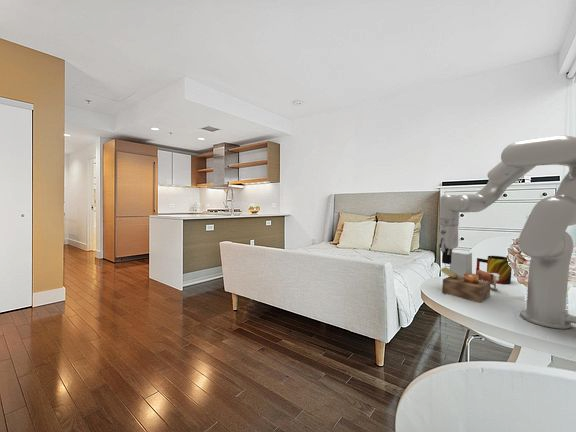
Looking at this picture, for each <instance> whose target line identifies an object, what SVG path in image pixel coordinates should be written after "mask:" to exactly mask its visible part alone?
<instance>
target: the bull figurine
mask: <svg viewBox="0 0 576 432" xmlns="http://www.w3.org/2000/svg"><path fill="white" fill-rule="evenodd" d="M475 274H477V275H479V280H482V281H487V282H491V284H490V286H493V289H494V290H495V291H498V289H497V283H496V282H497V281H499V277H502V275H499V274H496V273H488V272H487V271H484V270H482V269H479V270H477V271H476V270H475Z"/></svg>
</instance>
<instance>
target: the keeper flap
mask: <svg viewBox="0 0 576 432" xmlns="http://www.w3.org/2000/svg"><path fill="white" fill-rule="evenodd" d="M440 271H441V272H442V273H443V274H445V275H446V276H447V277H451V278H452V279H454V278H456V277H458V274H456V273H454V272H452V271H451V270H450V268H447V266H445V267H443V268H441V269H440Z"/></svg>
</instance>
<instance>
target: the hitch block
mask: <svg viewBox="0 0 576 432" xmlns="http://www.w3.org/2000/svg"><path fill="white" fill-rule="evenodd" d="M490 284H491V282H487V281H483V280H479V281H478V283H477V284H473V283H467V282H465V281H464V277H463V276H458V277H456V278H454V279H452V278H451V277H450V276H446V277H445V278H443V279H442V288H441V289H442V291H441V292H442V293H443V294H444V295H449V296H452V297H456V298H461V299H465V300H469V301H472V302H476V303H479V304H481V303H482V302H483V301H485V300H486V299H488V298H489V297H491V285H490Z"/></svg>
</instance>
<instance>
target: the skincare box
mask: <svg viewBox="0 0 576 432" xmlns="http://www.w3.org/2000/svg"><path fill="white" fill-rule="evenodd" d="M449 270H451V271H452V272H454V273H456V274H458V276H463V277H464V273H472V274H473V252H472V251H471V252H470V251H462V250H461V251H459V250H452V256H451V264H449Z"/></svg>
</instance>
